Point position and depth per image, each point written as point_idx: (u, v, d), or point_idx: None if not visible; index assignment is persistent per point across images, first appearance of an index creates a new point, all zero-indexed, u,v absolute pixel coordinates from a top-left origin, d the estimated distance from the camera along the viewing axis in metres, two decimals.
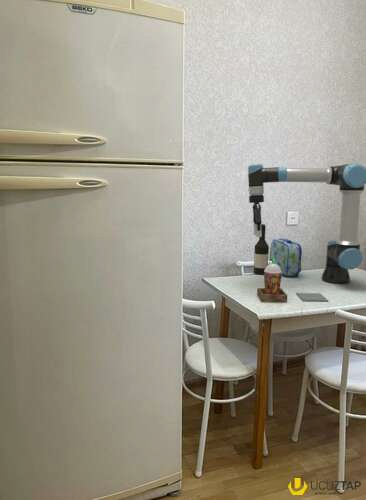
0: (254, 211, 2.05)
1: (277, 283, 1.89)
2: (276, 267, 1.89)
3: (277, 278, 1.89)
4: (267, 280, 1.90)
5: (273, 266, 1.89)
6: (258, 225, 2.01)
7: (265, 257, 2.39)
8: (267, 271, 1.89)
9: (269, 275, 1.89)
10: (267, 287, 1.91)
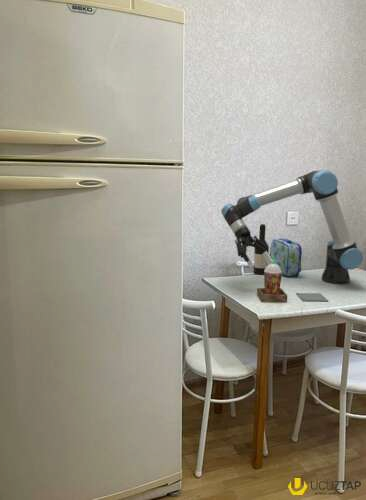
0: (242, 246, 2.00)
1: (277, 283, 1.89)
2: (276, 267, 1.89)
3: (277, 278, 1.89)
4: (267, 280, 1.90)
5: (273, 266, 1.89)
6: (243, 257, 1.93)
7: None
8: (267, 271, 1.89)
9: (269, 275, 1.89)
10: (267, 287, 1.91)
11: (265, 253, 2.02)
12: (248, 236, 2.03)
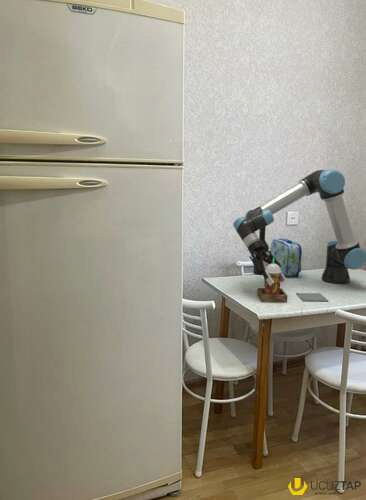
0: None
1: (277, 283, 1.89)
2: (276, 267, 1.89)
3: (277, 278, 1.89)
4: None
5: (273, 266, 1.89)
6: (262, 274, 1.89)
7: None
8: (267, 271, 1.89)
9: None
10: (267, 287, 1.91)
11: None
12: (261, 249, 1.98)
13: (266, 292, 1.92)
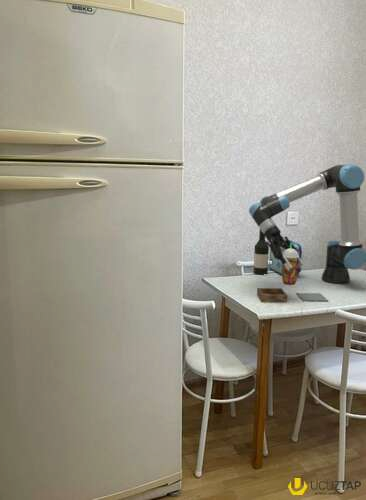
0: None
1: (295, 268, 1.89)
2: (294, 252, 1.88)
3: (295, 263, 1.88)
4: None
5: (291, 251, 1.88)
6: (280, 259, 1.88)
7: (265, 257, 2.39)
8: (285, 256, 1.89)
9: None
10: (284, 272, 1.90)
11: None
12: (278, 235, 1.97)
13: (284, 277, 1.91)
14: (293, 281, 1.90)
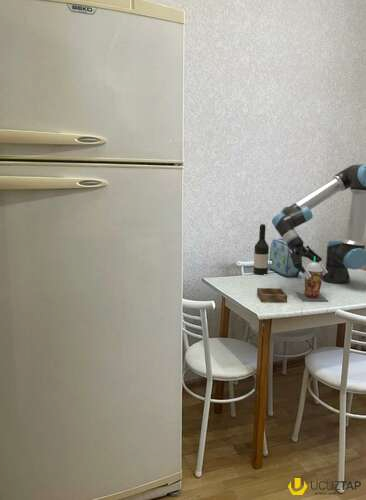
0: None
1: (318, 281, 1.91)
2: (317, 265, 1.91)
3: (319, 277, 1.90)
4: None
5: (314, 264, 1.91)
6: (299, 268, 1.90)
7: (265, 257, 2.39)
8: (308, 269, 1.91)
9: (310, 274, 1.91)
10: (308, 285, 1.93)
11: (319, 263, 1.98)
12: (301, 246, 1.99)
13: (307, 290, 1.94)
14: (316, 294, 1.93)
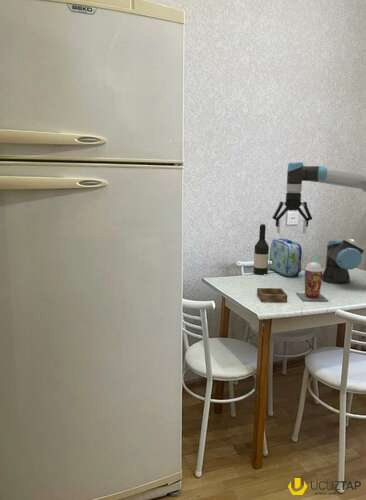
0: None
1: (318, 281, 1.91)
2: (317, 265, 1.91)
3: (319, 277, 1.91)
4: (308, 278, 1.92)
5: (314, 264, 1.91)
6: (276, 221, 2.12)
7: (265, 257, 2.39)
8: (308, 269, 1.91)
9: (310, 273, 1.91)
10: (308, 285, 1.93)
11: (304, 222, 2.11)
12: (296, 201, 2.09)
13: (307, 290, 1.94)
14: (316, 294, 1.93)
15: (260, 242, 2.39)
